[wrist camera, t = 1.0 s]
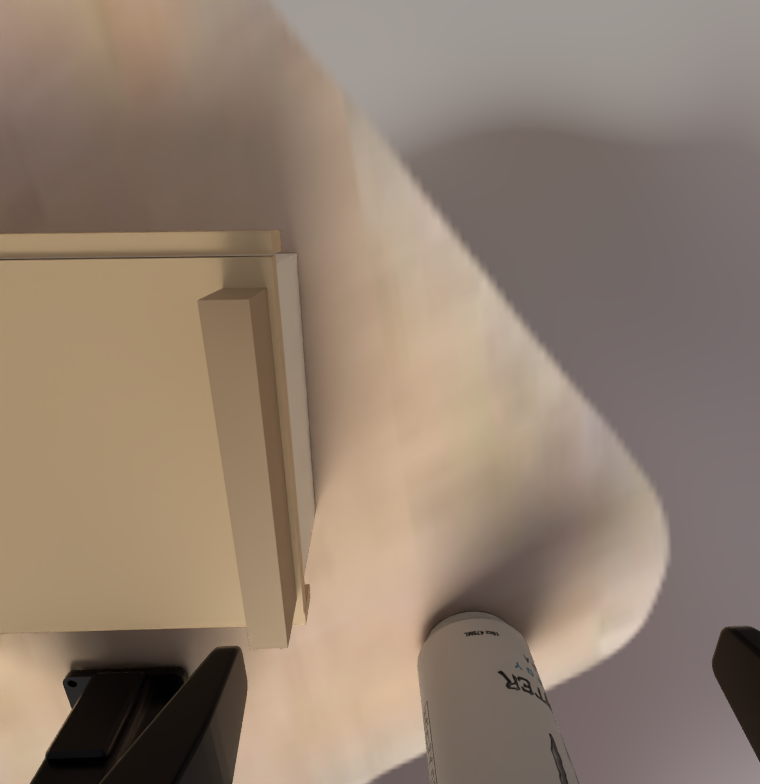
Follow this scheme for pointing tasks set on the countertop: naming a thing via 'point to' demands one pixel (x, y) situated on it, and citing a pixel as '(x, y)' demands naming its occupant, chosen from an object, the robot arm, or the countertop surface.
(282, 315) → the mailer box
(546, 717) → the energy drink can
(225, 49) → the countertop surface
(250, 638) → the lid
